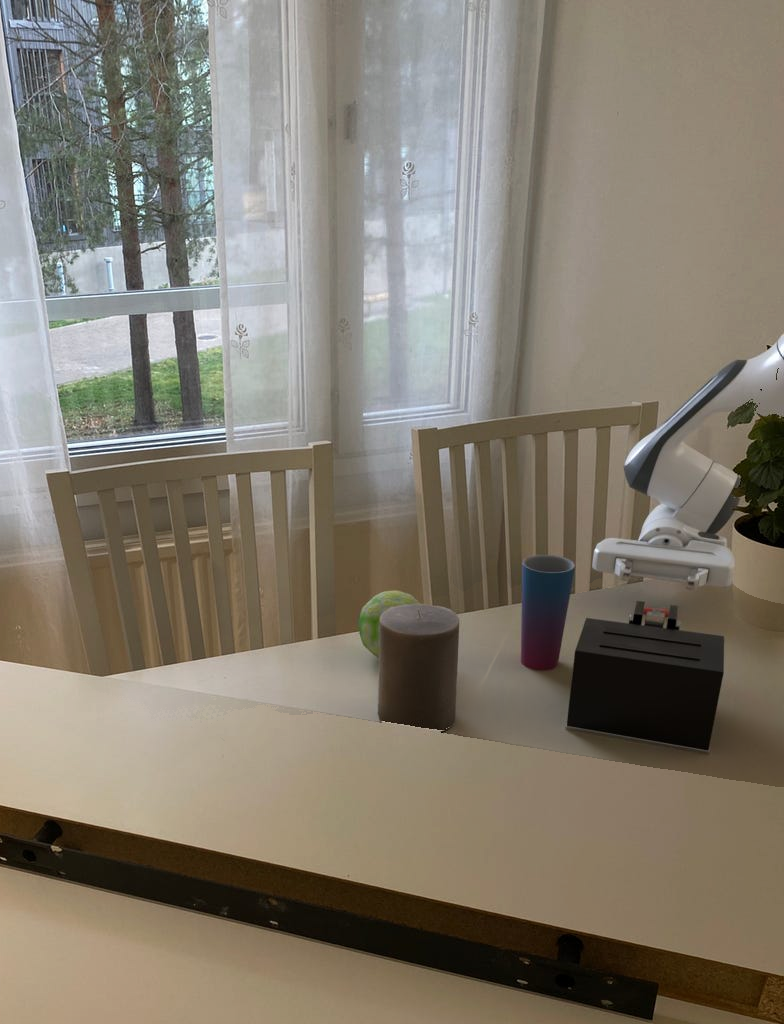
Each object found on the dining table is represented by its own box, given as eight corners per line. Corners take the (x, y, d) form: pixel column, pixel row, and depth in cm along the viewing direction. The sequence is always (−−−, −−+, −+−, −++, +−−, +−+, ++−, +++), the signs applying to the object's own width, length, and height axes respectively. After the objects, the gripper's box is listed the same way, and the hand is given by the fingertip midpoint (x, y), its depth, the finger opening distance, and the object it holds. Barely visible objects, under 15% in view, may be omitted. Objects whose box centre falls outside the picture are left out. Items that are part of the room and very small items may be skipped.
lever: (634, 617, 126) (636, 600, 125) (676, 623, 124) (679, 606, 123) (629, 630, 115) (632, 612, 115) (675, 636, 113) (679, 618, 113)
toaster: (709, 715, 114) (725, 634, 109) (708, 757, 105) (725, 671, 100) (576, 693, 120) (585, 616, 115) (564, 731, 111) (574, 649, 106)
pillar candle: (427, 746, 109) (431, 632, 102) (362, 720, 115) (362, 611, 108) (470, 713, 116) (476, 605, 109) (406, 691, 121) (409, 586, 115)
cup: (505, 657, 129) (512, 558, 123) (547, 650, 131) (557, 552, 125) (530, 678, 124) (539, 575, 117) (573, 670, 125) (585, 568, 119)
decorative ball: (441, 660, 129) (444, 595, 125) (387, 680, 124) (388, 613, 120) (397, 636, 137) (398, 574, 132) (343, 654, 132) (343, 590, 127)
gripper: (600, 523, 148) (587, 551, 136) (737, 538, 140) (736, 569, 129) (595, 560, 151) (583, 590, 139) (730, 576, 143) (728, 610, 132)
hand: (658, 580), depth 134 cm, fingers open, 8 cm apart
